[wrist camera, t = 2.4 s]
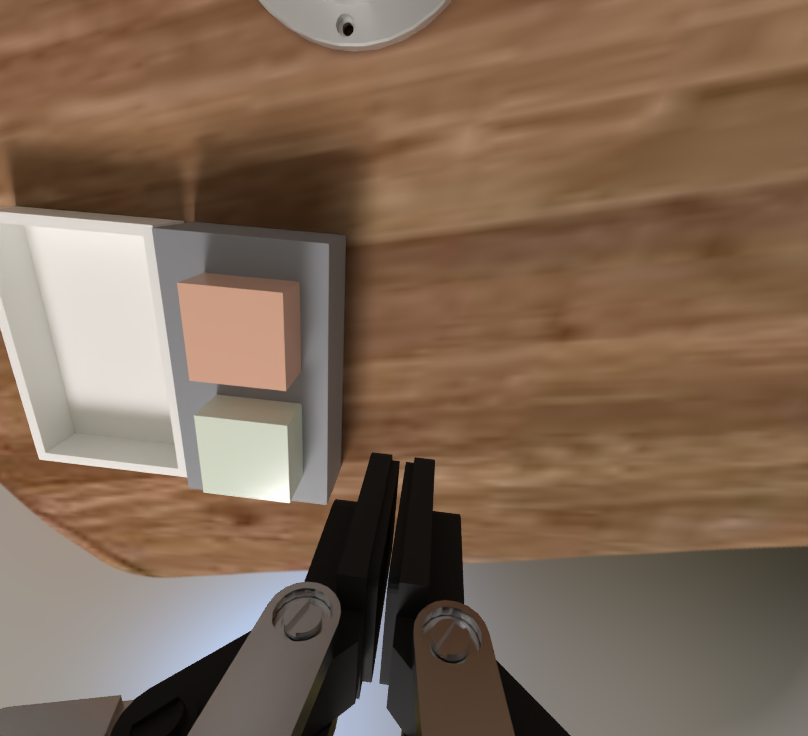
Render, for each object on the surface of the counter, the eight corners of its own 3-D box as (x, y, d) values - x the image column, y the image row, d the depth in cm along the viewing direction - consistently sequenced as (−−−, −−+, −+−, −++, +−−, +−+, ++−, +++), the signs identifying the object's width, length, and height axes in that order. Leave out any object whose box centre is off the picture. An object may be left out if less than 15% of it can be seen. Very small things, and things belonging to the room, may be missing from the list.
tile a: (204, 272, 23) (176, 282, 20) (299, 281, 22) (282, 292, 20) (213, 362, 25) (189, 380, 22) (301, 371, 24) (286, 391, 22)
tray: (15, 206, 26) (-36, 208, 24) (183, 220, 26) (152, 225, 23) (73, 436, 33) (39, 459, 30) (210, 452, 32) (188, 477, 29)
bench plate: (194, 221, 26) (151, 227, 22) (346, 235, 25) (329, 243, 22) (218, 453, 32) (188, 488, 28) (341, 467, 31) (326, 504, 28)
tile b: (216, 394, 25) (193, 415, 23) (301, 403, 25) (287, 425, 23) (224, 466, 27) (203, 492, 25) (303, 475, 27) (289, 503, 25)
